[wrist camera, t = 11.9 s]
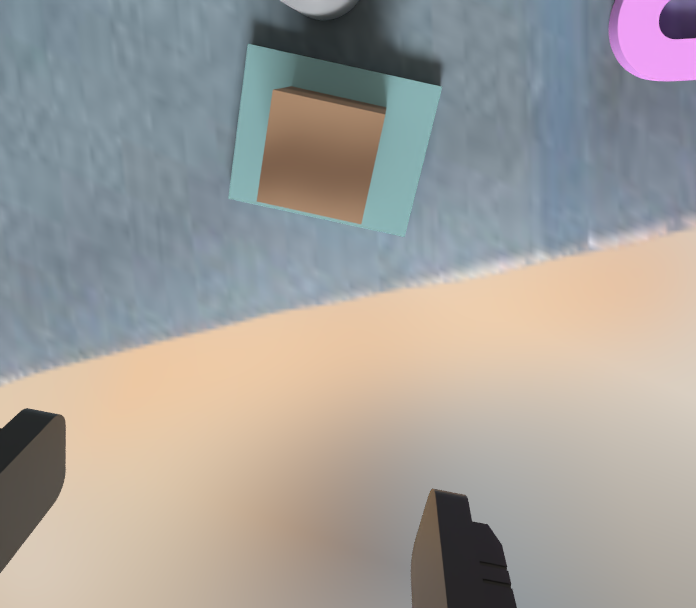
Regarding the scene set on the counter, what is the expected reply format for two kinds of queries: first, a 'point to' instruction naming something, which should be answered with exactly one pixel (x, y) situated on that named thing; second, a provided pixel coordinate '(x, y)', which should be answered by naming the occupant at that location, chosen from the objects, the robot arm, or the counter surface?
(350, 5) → the grey rounded part
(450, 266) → the counter surface
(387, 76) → the teal mat
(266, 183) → the walnut block
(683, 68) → the bracket
